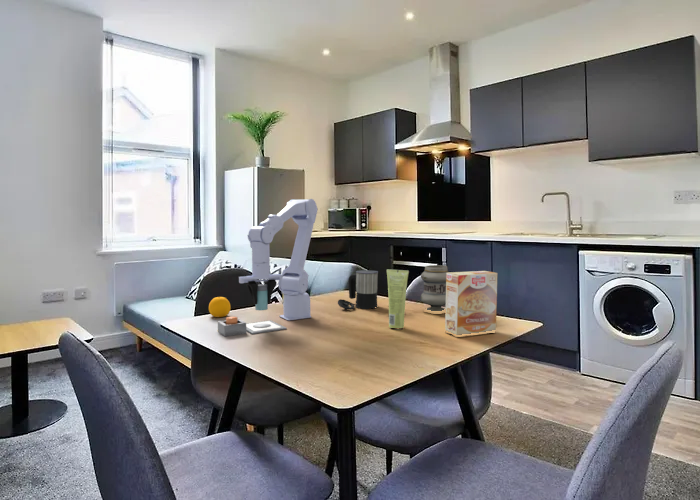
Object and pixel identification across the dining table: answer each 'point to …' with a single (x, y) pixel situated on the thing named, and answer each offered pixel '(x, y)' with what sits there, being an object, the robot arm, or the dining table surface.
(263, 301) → the marker
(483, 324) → the coffeecake box
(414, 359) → the dining table surface
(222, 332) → the button housing
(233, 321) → the button
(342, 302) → the milk frother
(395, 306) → the tube
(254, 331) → the board
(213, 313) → the apple
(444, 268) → the apothecary jar
